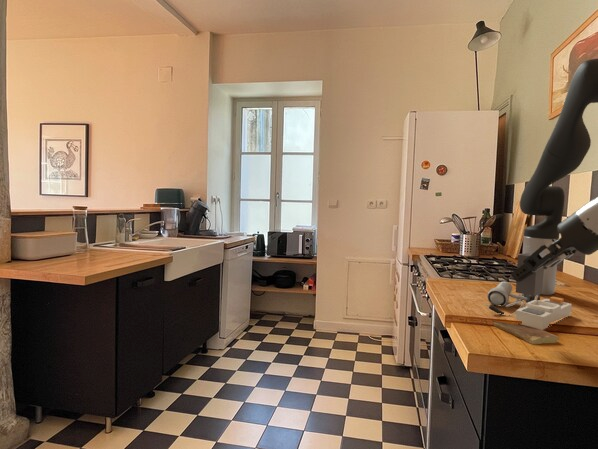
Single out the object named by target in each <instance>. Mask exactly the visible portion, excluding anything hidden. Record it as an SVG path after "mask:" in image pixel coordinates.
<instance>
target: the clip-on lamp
mask: <svg viewBox="0 0 598 449" xmlns="http://www.w3.org/2000/svg"><path fill="white" fill-rule="evenodd" d="M512 291H513V286H512V285H511V283H510V282H509V281H501V282H499V283H498V284H497V285H496V287H493V288H491V289H490V290H489V291H488V293H487V300H488V302H489V303H490V305H489V304H485V306H486V307H488V309H490V310H491V311H492V312H494V313H497V314H498V313H501V314H504V313H505V312H504V311H502V310H501V309H499V308H498V307H496V306H498V305H501V307H505V308H509V307H512V306H515V305H516V304H521V305H520V306H519V308H518V309H520V308H523V307H524V306H523V305H524V302H523V301H525V304H526V303H528V302H530V301H533V300H540V301H541V294H539V295H536V296H531V295H526V294H521V293H518V294H515V293H512ZM510 298H514V299H515V302H511V303H509V301H510ZM508 303H509V304H508ZM494 305H496V306H494ZM511 314H512V315H511V316H513V315H514V316H515V315H516V311H514V312H513V313H511Z"/></svg>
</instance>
